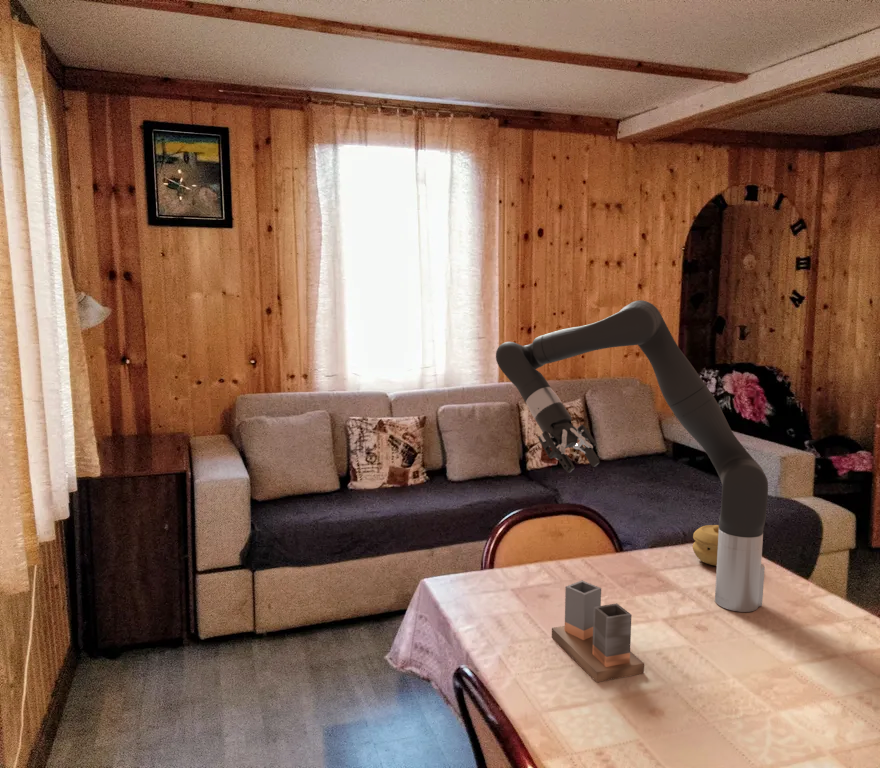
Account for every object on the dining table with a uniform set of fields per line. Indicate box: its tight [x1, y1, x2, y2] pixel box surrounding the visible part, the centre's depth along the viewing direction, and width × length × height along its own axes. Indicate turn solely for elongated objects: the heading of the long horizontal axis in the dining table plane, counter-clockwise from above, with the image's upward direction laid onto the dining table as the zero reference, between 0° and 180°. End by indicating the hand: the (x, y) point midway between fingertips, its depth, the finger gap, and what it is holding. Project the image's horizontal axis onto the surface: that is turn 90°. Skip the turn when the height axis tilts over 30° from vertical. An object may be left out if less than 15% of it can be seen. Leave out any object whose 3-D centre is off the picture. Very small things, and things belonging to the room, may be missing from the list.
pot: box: [692, 524, 719, 567], centre depth 189 cm, size 12×12×10 cm
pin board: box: [551, 603, 645, 683], centre depth 143 cm, size 10×18×12 cm, turn 18°
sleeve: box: [564, 580, 602, 640], centre depth 148 cm, size 5×5×10 cm
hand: (584, 467), depth 166 cm, fingers open, 8 cm apart
